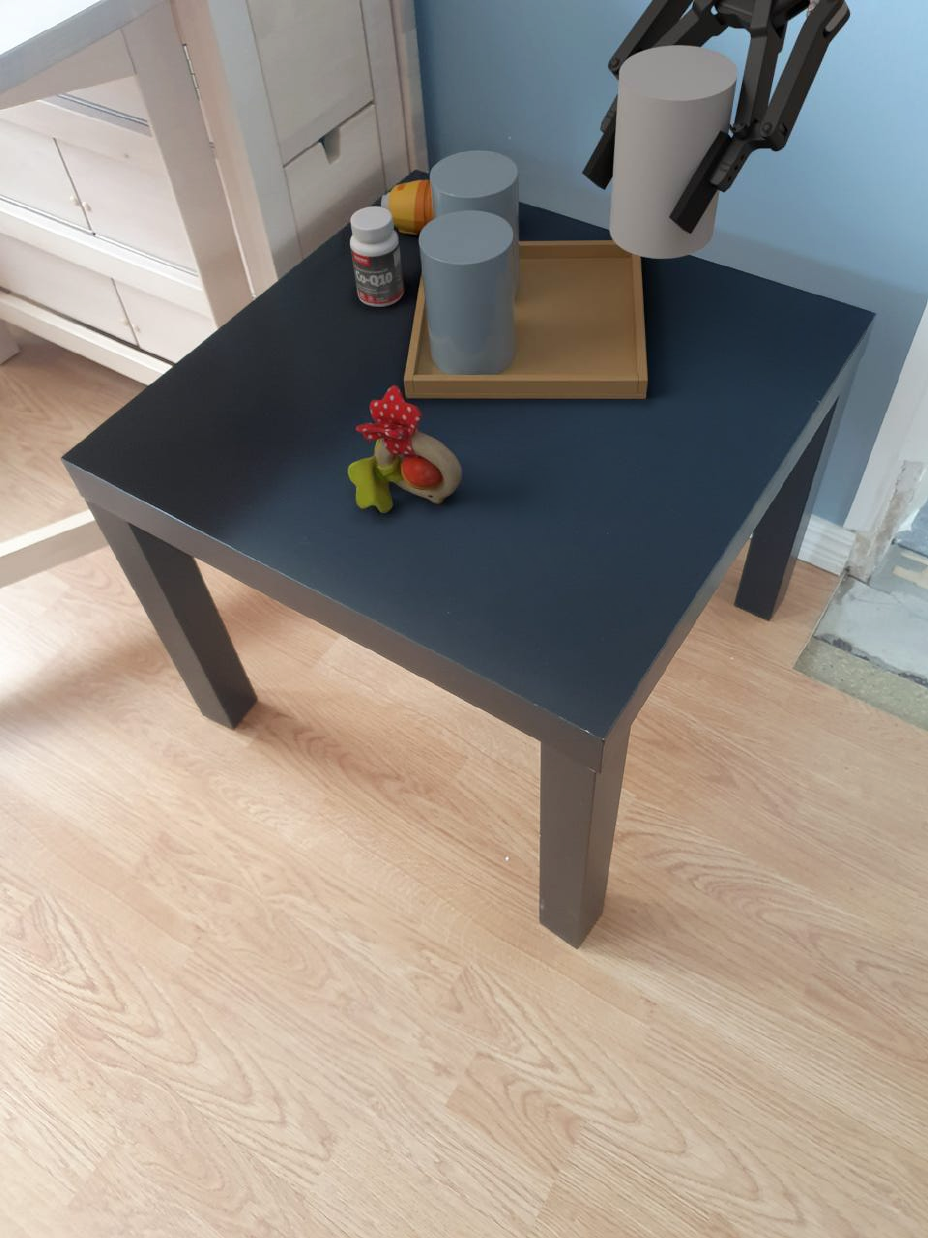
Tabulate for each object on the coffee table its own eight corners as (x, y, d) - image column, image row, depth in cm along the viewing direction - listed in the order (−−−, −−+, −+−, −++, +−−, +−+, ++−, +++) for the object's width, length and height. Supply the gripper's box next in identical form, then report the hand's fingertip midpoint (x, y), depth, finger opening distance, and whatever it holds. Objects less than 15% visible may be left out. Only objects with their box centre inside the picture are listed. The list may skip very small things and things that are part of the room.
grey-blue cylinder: (521, 264, 101) (520, 148, 92) (518, 312, 96) (516, 196, 87) (443, 265, 102) (433, 150, 92) (436, 313, 97) (425, 197, 87)
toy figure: (380, 243, 106) (491, 248, 104) (372, 195, 102) (488, 199, 100) (392, 215, 109) (499, 219, 107) (385, 167, 105) (497, 170, 103)
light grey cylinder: (727, 212, 80) (752, 55, 70) (693, 268, 76) (715, 109, 66) (631, 192, 82) (643, 38, 73) (593, 245, 78) (601, 88, 69)
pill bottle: (354, 307, 99) (340, 231, 93) (363, 279, 102) (350, 203, 95) (400, 309, 99) (390, 232, 92) (408, 280, 102) (399, 204, 95)
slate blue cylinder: (517, 325, 95) (515, 208, 86) (514, 380, 90) (511, 263, 81) (434, 325, 96) (423, 210, 86) (427, 380, 91) (414, 264, 82)
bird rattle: (450, 490, 86) (354, 444, 85) (496, 408, 77) (389, 356, 76) (428, 543, 83) (328, 497, 82) (474, 464, 74) (362, 410, 72)
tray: (637, 257, 102) (639, 239, 100) (645, 399, 89) (647, 380, 87) (428, 260, 104) (426, 241, 102) (406, 398, 91) (403, 380, 89)
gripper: (963, -41, 66) (763, 276, 73) (717, -112, 76) (562, 172, 83) (943, -113, 60) (726, 240, 67) (678, -180, 70) (514, 133, 77)
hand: (635, 202), depth 75 cm, fingers closed on light grey cylinder, 8 cm apart
